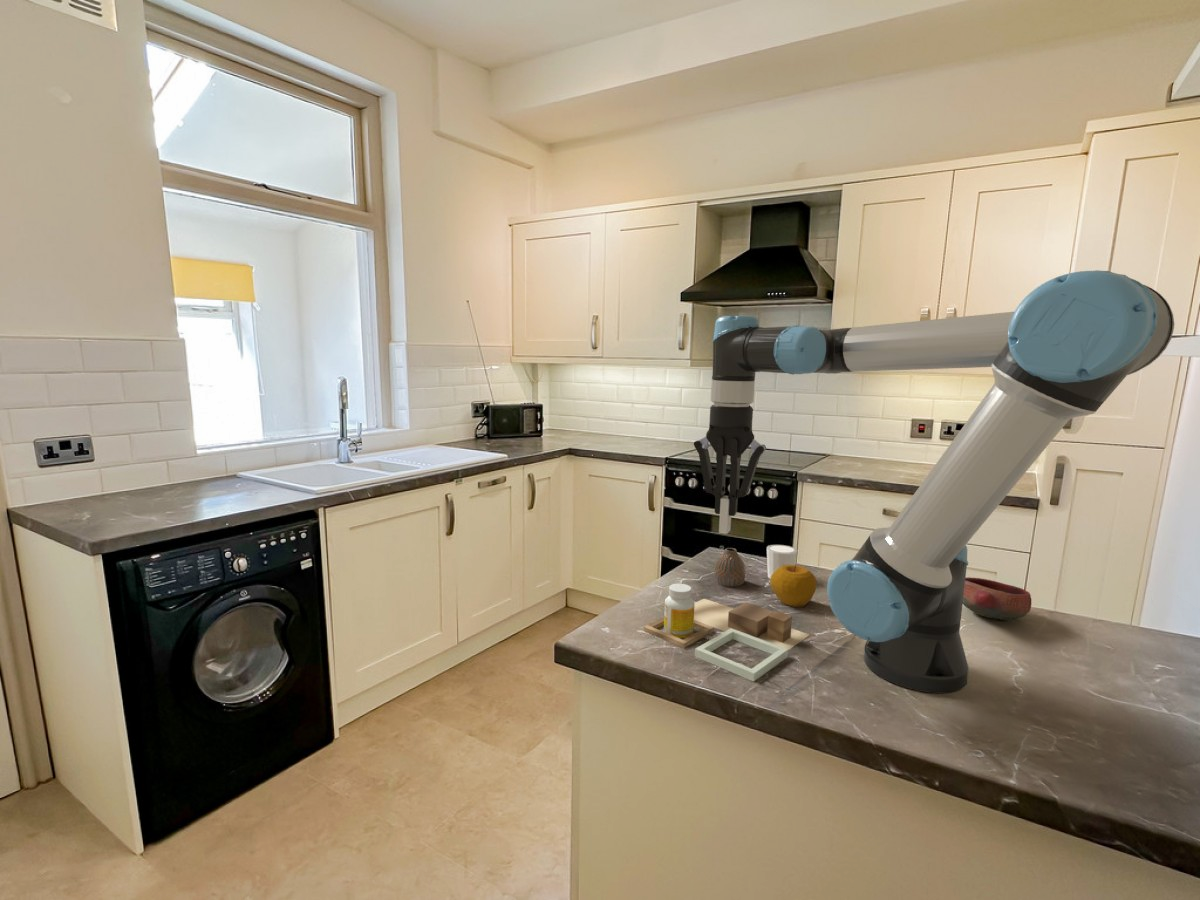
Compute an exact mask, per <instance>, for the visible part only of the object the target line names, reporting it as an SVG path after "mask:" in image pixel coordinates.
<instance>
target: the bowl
mask: <svg viewBox="0 0 1200 900" xmlns="http://www.w3.org/2000/svg"><path fill="white" fill-rule="evenodd" d="M1031 597H1032V595H1031V593H1030V592H1029V591H1027V590H1026V589H1025V588H1024V589H1023V588H1021V587H1018V586H1014V585H1011V584H1006V583H1003V582H999V581H995V580H991V579H986V578H982V577H981V578H980V577H971V576H969V577H965V586H964V595H963V604H962V606H964V607H965V608H967V609H968V610H969V611H971V612H973V613H975V614H977V615H980V616H982V617H985V618H986V617H987V618H990V619H995V620H1003V621H1004V620H1005V621H1012V620H1019V619H1021V618H1023V617H1025V616H1026V615H1027V614H1029V612H1030V611H1031V609H1032V598H1031Z"/></svg>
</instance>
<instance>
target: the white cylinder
mask: <svg viewBox="0 0 1200 900" xmlns="http://www.w3.org/2000/svg"><path fill="white" fill-rule="evenodd" d="M797 554H798V550H797V549H796V548H795V547H792V546H790V545H784V544H770V545H767V546H766V564H767V578H768V579H770V578H771V575H772V574H773V573H774V572H775V571H776V570H777V569H778V568H779V567H781V566H783V565H796V560H797Z"/></svg>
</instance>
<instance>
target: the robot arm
mask: <svg viewBox="0 0 1200 900" xmlns="http://www.w3.org/2000/svg"><path fill="white" fill-rule="evenodd" d="M1174 329H1175V320H1174V313H1173V310H1172V308H1171V306H1170V304H1169V303H1168V301H1167V299H1166V298H1164V296H1163V295H1162V294H1160V292H1158V291H1156V290H1155V289H1153V288H1152V287H1150V286H1147V285H1145V284H1143V283H1142V282H1140V281H1138V280H1136V279H1134V278H1131V277H1129V276H1128V275H1126V274H1121V273H1117V272H1112V271H1110V270H1082V271H1074V272H1070V273H1067V274H1062V275H1059V276H1056V277H1054V278H1051V279H1049V280H1047V281H1045V282H1044V283H1042V284H1040V285H1039V286H1038V287H1036V288H1034V289H1033V290H1032V291H1031V292H1029V293H1028V294H1027V295H1026V296H1025V297H1024V298H1023V299H1022V301H1021V302H1020V303H1019V304H1018V306H1017V307H1016V309H1015V310H1014V311H1006V312H998V313H997V312H996V313H987V314H986V313H985V314H976V315H966V316H955V317H945V318H937V319H936V318H935V319H927V320H915V321H906V322H895V323H894V322H893V323H885V324H876V325H875V324H874V325H865V326H864V325H863V326H857V327H856V326H854V327H843V328H842V327H841V328H832V329H819V328H818V327H815V326H811V325H809V326H806V325H798V324H796V325H790V326H772V327H771V326H770V327H769V326H768V327H761V326H759V320H758V318H757V317H756V316H752V315H722V316H719V317H718V318H717V319H716V320H715V324H714V332H713V339H712V373H711V374H712V375H711V388H710V401H711V402H712V403H713V404H712V405H711V406H710V407H709V423H708V424H709V426H708V427H709V428H708V430H707V431H706V434H705V436H704V437H702V438H700V439H698V440H696V441H694V442H693V446H694V448H695V450H696V452H697V453H698V458H699V462H700V466H701V467H700V469H701V475H702V479H703V485H704V489H705V492H706V493H707V494H711V495H713V496H714V497H715V499H714V514H715V515H716V514H717V515H719V523H718V534H723V535H728V533H730V532H731V529H732V528H731V526H732V525H731V524H732V517H735V516H736V514H737V513H738V499H740V498H745V496H747V495H748V494H749V492H750V489H751V486H752V483H753V480H754V476H755V473H756V470H757V466H758V465H759V461H760V457H761V456H762V455H763V454H764V452H765V451H766V450H767V447H766V445H765V444H761V443H759V442H758V441H757V440H756V439H755V434H754V432H753V414H754V408H753V407H752V406H751V405H752V404H753V403H754V400H755V384H756V383H755V382H756V381H755V380H756V373H762V372H763V373H773V374H774V373H775V374H788V375H804V374H806V375H807V374H813V373H817V374H840V373H853V372H854V373H856V372H879V371H881V372H882V371H883V372H885V371H887V372H888V371H909V370H910V371H911V370H937V369H938V370H939V369H940V370H941V369H942V370H944V369H947V370H948V369H969V368H970V369H971V368H972V369H973V368H991V370H992V374H993V378H994V383H993V385H992V386H991V387H990V389H989V391H988V392H987V393H986V394H985V396H984V398H982V401H980V403H979V404H978V405H977V406H976V407H975V410H974V411H973V413H972V414H971V415H970V417H969V418H968V420H967V421H966V422H965V423H964V425H963V426H962V428H961V429H960V430H959V432H958V433H957V434H956V435H955V436H954V439H953V440H952V442H951V443H950V444H949V445H948V446H947V448H946V450H945V451H944V452H943V454H941V457H940V458H939V459H938V461H937V462H936V463H935V465H934V466H933V467H932V469H931V470H930V472H929V473H928V474H927V476H926V477H925V478H924V480H923V481H922V483H921V484H920V485H919V487H918V488H917V490H915V492H914V494H913V495H912V496H911V497H910V499H909V500H908V502H907V503H906V504H905V506H904V507H903V508H902V509H901V511H900V513H899V514H898V516H897V517H896V518H895V519H894V521H893V522H892V523H891V525H890V526H889V527H878V528H876V529H874V530H873V531H872V532H871V533H870V535H869V536H868V537H867V539H866V540H865V542H864V543H863V544H862V545H861V547H860V548H859V549H858V551H857V553H856V554H855V555H854V557H852V558H851V559H850V560H847V561H844V562H841V563H840V564H839V565H837V567H836V568H834V570H833V571H832V572H831V573H830V575H829V578H828V580H827V584H826V594H827V595H826V596H827V599H828V600H829V606H830V609H831V611H832V613H833V615H834V616H835V618H836V619H837V621H838V622H839V623H840V625H841V626H843V627H844V628H845V629H846V630H847V631H848V632H850V633H851V634H853V635H854V636H856V637H858V638H860V639H862V640H865V641H866V642H865V643H864V644H865V645H864V652H863V661H864V663H865V665H866V666H867V667H868V669H869V670H870V671H872V672H873V673H874V674H875V675H876V676H878V677H880V678H882V679H884V680H886V681H888V682H890V683H892V684H895V685H897V686H900V687H904V688H907V689H911V690H915V691H920V692H925V693H931V694H932V693H934V694H944V693H945V694H946V693H953V692H958V691H960V690H962V689H964V688H965V687H966V686H967V684H968V679H969V664H968V660H967V657H966V653H965V649H964V644H963V641H962V639H961V638H962V637H961V634H960V631H961V630H960V629H961V622H962V621H961V620H962V611H963V595H964V586H965V578H967V577H966V576H967V575H966V574H967V567H968V565H969V561H968V546H967V544H968V543H969V541H970V540H971V539H972V538H973V536H974V535H976V533H977V532H978V531H979V530H980V528H981V527H982V525H983V524H984V523H985V522H986V521H987V519H988V518H989V517H991V516H992V514H993V512H994V511H995V510H996V509H997V507H998V506H999V505H1000V504H1001V503H1002V501H1003V500H1004V499H1005V498H1006V497H1007V495H1009V493H1010V492H1011V491H1012V490H1013V488H1014V487H1015V486H1016V484H1017V483H1018V482H1019V481H1020V480H1021V479H1022V477H1023V476H1024V475H1025V474H1026V473H1027V471H1028V470H1029V469H1030V468H1031V467H1032V466H1033V465H1034V463H1035V462H1036V460H1037V459H1038V458H1039V457H1040V456H1041V454H1043V452H1044V451H1045V450H1046V449H1047V447H1049V445H1050V443H1051V442H1052V441H1053V440H1054V438H1055V437H1056V436H1057V435H1058V433H1060V432H1061V430H1062V429H1063V428H1064V427H1065V426H1066V424H1067V423H1068V422H1069V421H1070V420H1072V419H1074V418H1078V417H1083V416H1088V415H1093V414H1096V412H1097V411H1098V410H1099V409H1100V408H1101V406H1102V405H1103V404H1104V403H1105V402H1106V401H1107V399H1108V398H1110V396H1111V395H1112V394H1113V392H1114V391H1115V390H1116V389H1117V387H1118V386H1119V385H1120V384H1121V383H1122V382H1123V381H1124V380H1125V378H1126V377H1127V376H1129V375H1131V374H1135V373H1137V372H1139V371H1141V370H1143V369H1144V368H1147V367H1148V366H1150V365H1151V364H1152V363H1153V362H1155V361H1156V360H1157V359H1158V358H1160V356H1162V353H1164V351H1165V350H1166V349H1167V348H1168V346H1169V344H1170V342H1171V340H1172V338H1173V337H1172V336H1173V334H1174ZM709 444H710V445H709ZM710 446H711V448H712V449H713V451H714V452H715V454H716V455H715V456H716V457H715V458H716V459H715V461H716V463H715V464H716V465H715V468H716V469H715V478H714V474H713V468H712V464H711V463H712V462H711V456H710V452H709V449H708V448H710ZM749 447H750V450H749V451H750V453H751V455H750V457H749V461H748V463H747V467H746V470H745V473H744V477H743V479H742V482H741V485H740V475H741V473H740V472H741V459H742V456H743V454H744V453H745V451H746V450H747V449H748V448H749ZM728 456H729V457H730V458H729V461H730V467H729V469H730V471H729V472H730V473H729V488H728V495H725V493H726V489H725V488H726V475H727V473H726V472H727V459H728Z"/></svg>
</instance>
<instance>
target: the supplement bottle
mask: <svg viewBox="0 0 1200 900" xmlns="http://www.w3.org/2000/svg"><path fill="white" fill-rule="evenodd" d="M694 603H695V601H694V599H693V598H692V586H690V585H688V584H684V583H673V584H670V585H669V586H668V596H667V597H666V598H665V600H664V613H663V614H664V615H663V617H664V625H663V632H665V633H668V634H670V635H673V636H675V637H677V638H680V639H685V638H687V637H689V636H691V635H692V634H694V628H695V627H694V607H695V604H694Z"/></svg>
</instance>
